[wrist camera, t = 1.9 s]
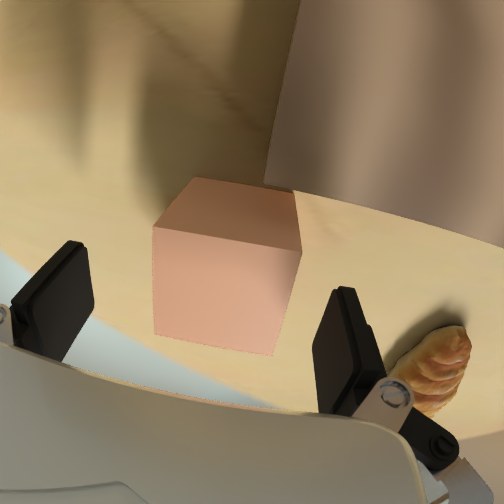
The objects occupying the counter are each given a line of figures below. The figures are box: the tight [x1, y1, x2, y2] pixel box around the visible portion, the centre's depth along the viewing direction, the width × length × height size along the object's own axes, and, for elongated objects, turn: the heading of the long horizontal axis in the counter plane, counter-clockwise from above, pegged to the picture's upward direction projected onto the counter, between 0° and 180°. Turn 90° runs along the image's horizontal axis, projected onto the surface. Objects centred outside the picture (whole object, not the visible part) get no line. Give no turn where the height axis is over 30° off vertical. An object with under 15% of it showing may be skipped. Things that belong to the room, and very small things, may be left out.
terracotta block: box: [152, 177, 302, 356], centre depth 14 cm, size 5×5×6 cm
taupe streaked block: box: [263, 0, 504, 248], centre depth 10 cm, size 12×12×5 cm
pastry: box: [387, 326, 472, 419], centre depth 20 cm, size 9×7×4 cm
